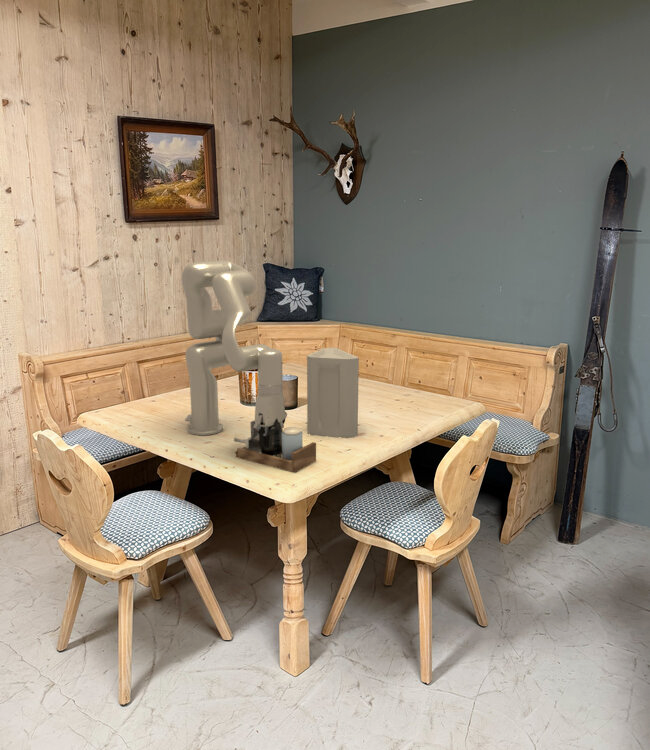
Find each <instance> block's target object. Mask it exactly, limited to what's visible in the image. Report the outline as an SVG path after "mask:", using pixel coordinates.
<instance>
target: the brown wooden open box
mask: <svg viewBox="0 0 650 750" xmlns="http://www.w3.org/2000/svg"><path fill="white" fill-rule="evenodd" d="M280 455H282V453H281V454H280ZM235 458H238V459H242V460H245V461H250V462H252V463H255V464H256V463H257V464H261V465H264V466H268V467H272V468H275V469H280V470H283V471H286V472H287V471H288V472H291V473H297V472H299V471H300V470H303V469H304V468H307V467H308V466H310V465H311V464H313V463H315V462H317V442H310V443H308V444H307V445H305V446H303V448H301V449H299V450H297V451H295V452H293V453H292V461H291V460H287V459H283V458H282V457H278V456H271V455H267V454H263V453H261V452H260V453H259V452H255V451H251V450H247V449H246V446H244V447H237V448H236V450H235Z"/></svg>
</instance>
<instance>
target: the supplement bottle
mask: <svg viewBox="0 0 650 750" xmlns="http://www.w3.org/2000/svg"><path fill="white" fill-rule="evenodd" d="M278 422H279V421H278V419H276V420H275V423H274V425H272V426H270V427H269V429H268V432H267V435H268V444H269V446H268V448H265V447H261V452H260V453H263V454H267V455H271V456H275V457H277V456H280V455H282V454H281V453H282V427H281V425H280V424H278ZM263 425H265V423H263ZM263 430H265V427H263Z"/></svg>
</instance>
